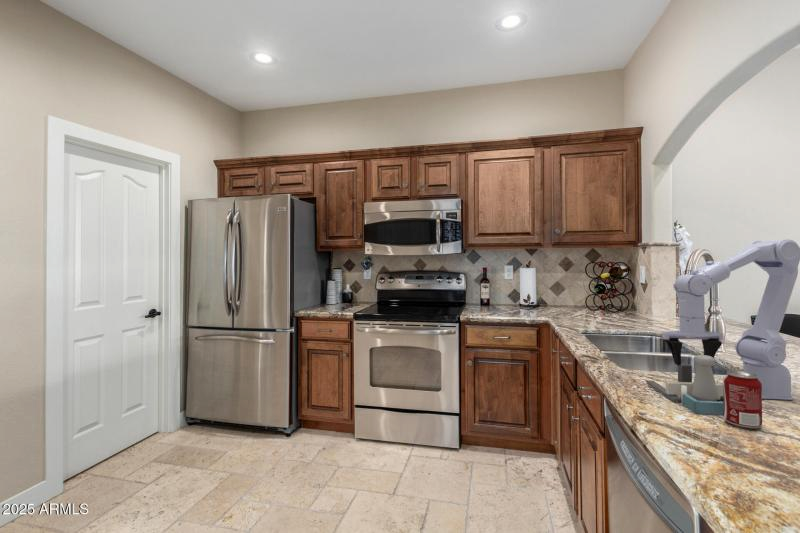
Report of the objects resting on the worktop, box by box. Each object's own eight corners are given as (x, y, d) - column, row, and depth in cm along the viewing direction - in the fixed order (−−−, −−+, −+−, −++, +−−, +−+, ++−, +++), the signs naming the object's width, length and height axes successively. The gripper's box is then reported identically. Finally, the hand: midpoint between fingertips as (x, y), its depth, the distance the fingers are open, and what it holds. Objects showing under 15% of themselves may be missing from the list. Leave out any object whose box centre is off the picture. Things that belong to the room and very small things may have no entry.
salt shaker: (723, 408, 100) (722, 358, 100) (698, 407, 102) (697, 358, 102) (710, 400, 106) (710, 353, 106) (687, 399, 107) (686, 352, 107)
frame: (732, 405, 102) (732, 387, 102) (751, 416, 95) (750, 396, 95) (680, 403, 105) (680, 385, 104) (695, 413, 98) (695, 394, 98)
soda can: (765, 433, 86) (765, 379, 86) (726, 426, 90) (725, 375, 90) (758, 422, 92) (757, 371, 92) (721, 416, 95) (720, 368, 95)
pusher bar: (710, 389, 114) (710, 364, 114) (729, 399, 105) (729, 372, 105) (654, 387, 117) (654, 362, 117) (668, 397, 108) (668, 370, 108)
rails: (700, 385, 119) (700, 382, 119) (737, 405, 102) (737, 401, 102) (646, 383, 122) (646, 380, 122) (673, 402, 105) (673, 399, 105)
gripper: (712, 315, 112) (713, 361, 112) (656, 314, 115) (657, 360, 115) (728, 318, 105) (728, 368, 105) (668, 318, 108) (669, 366, 108)
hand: (692, 364), depth 110 cm, fingers open, 7 cm apart
